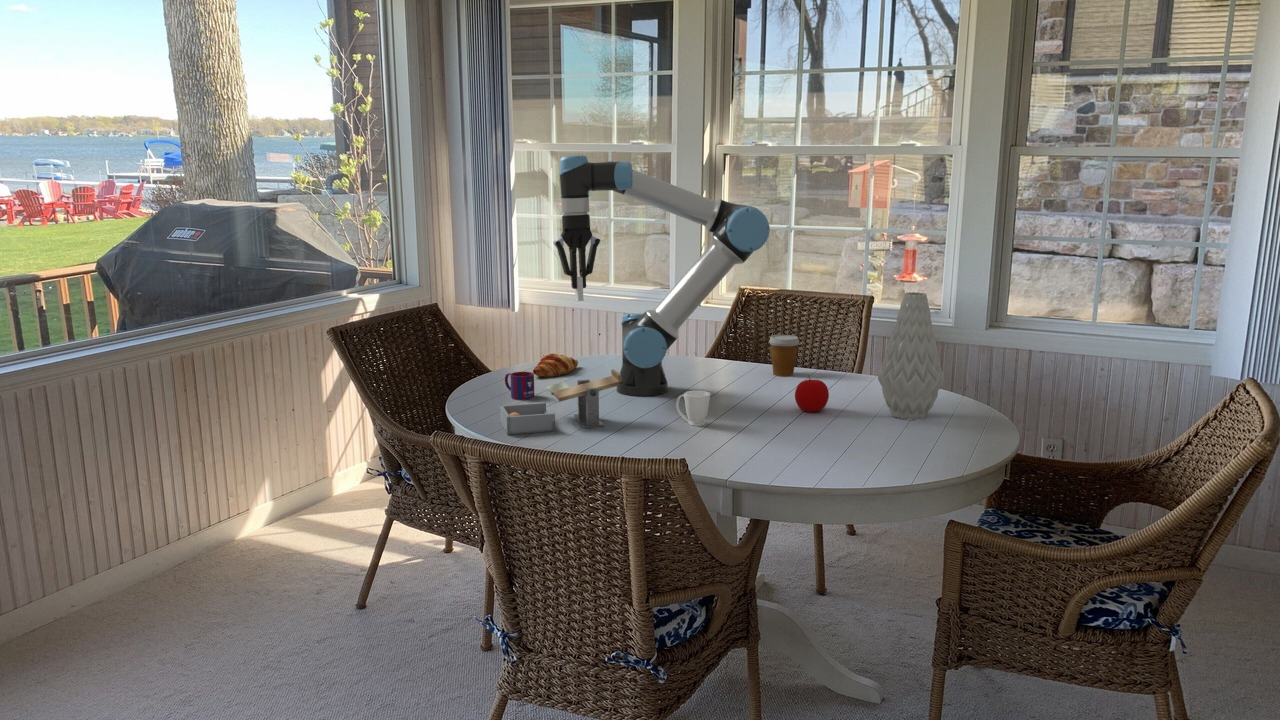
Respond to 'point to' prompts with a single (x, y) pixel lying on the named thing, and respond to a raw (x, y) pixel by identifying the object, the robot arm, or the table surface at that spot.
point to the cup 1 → (521, 385)
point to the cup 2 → (695, 406)
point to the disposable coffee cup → (783, 354)
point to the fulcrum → (588, 407)
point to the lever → (584, 387)
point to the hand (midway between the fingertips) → (579, 300)
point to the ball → (514, 414)
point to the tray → (527, 418)
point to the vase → (911, 361)
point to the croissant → (555, 365)
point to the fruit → (811, 395)
